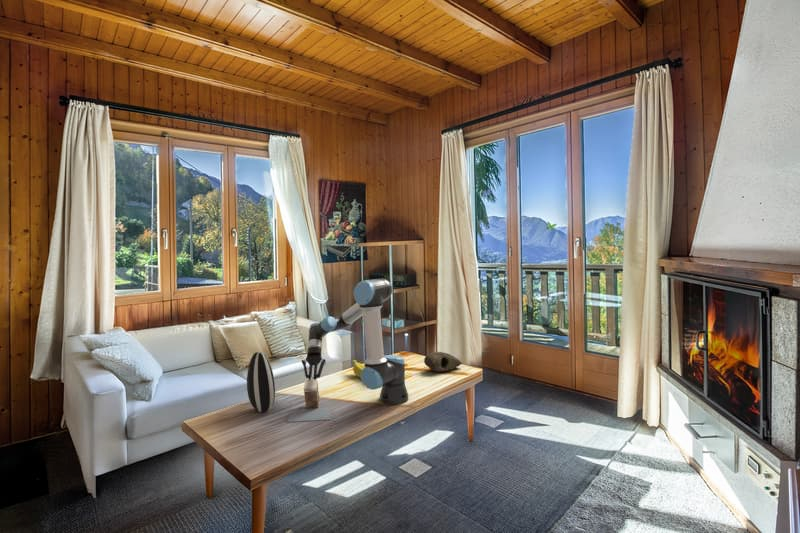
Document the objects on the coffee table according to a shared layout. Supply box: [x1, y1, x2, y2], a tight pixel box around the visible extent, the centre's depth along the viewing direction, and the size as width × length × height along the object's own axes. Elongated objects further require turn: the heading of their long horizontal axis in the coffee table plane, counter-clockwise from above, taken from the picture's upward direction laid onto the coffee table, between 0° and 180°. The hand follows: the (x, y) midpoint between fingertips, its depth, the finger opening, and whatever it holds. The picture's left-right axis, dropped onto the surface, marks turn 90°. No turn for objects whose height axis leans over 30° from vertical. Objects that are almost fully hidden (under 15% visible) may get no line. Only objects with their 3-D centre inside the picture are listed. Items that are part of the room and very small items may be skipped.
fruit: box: [351, 359, 365, 379], centre depth 253 cm, size 7×30×9 cm, turn 41°
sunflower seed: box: [246, 351, 276, 413], centre depth 206 cm, size 19×10×30 cm, turn 52°
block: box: [303, 378, 320, 409], centre depth 208 cm, size 6×6×14 cm
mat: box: [286, 407, 333, 423], centre depth 201 cm, size 20×14×1 cm
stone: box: [423, 351, 463, 373], centre depth 268 cm, size 25×12×15 cm
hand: (311, 389), depth 212 cm, fingers closed
